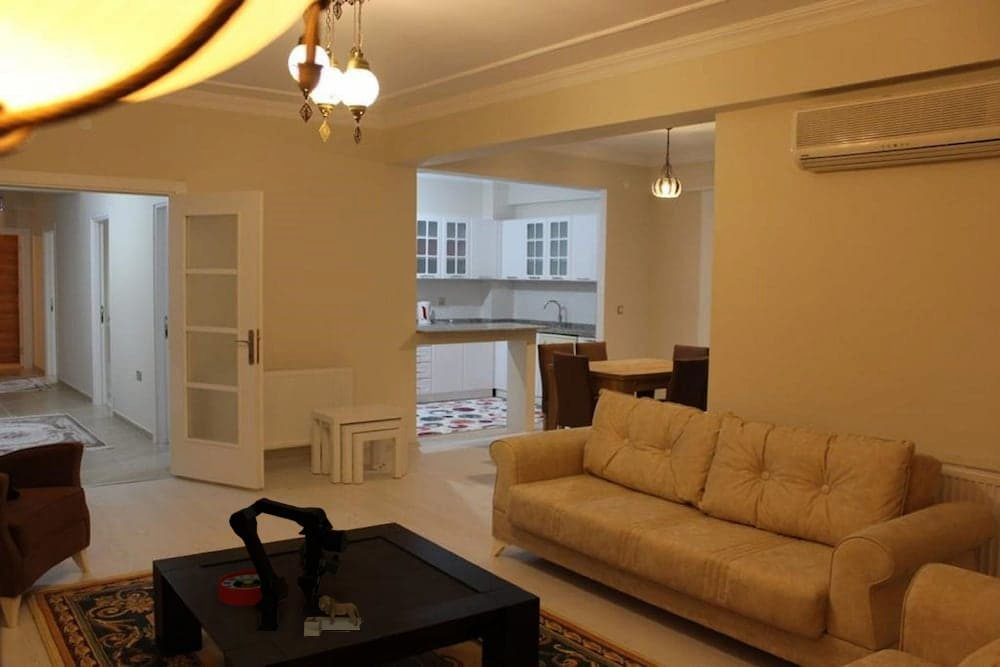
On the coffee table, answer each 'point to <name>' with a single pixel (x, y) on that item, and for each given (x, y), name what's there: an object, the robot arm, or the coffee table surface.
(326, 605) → the lion figurine
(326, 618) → the grey mat
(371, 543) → the coffee table surface
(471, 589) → the coffee table surface
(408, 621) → the coffee table surface
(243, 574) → the toy clock
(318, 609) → the phone
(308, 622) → the maple cube
